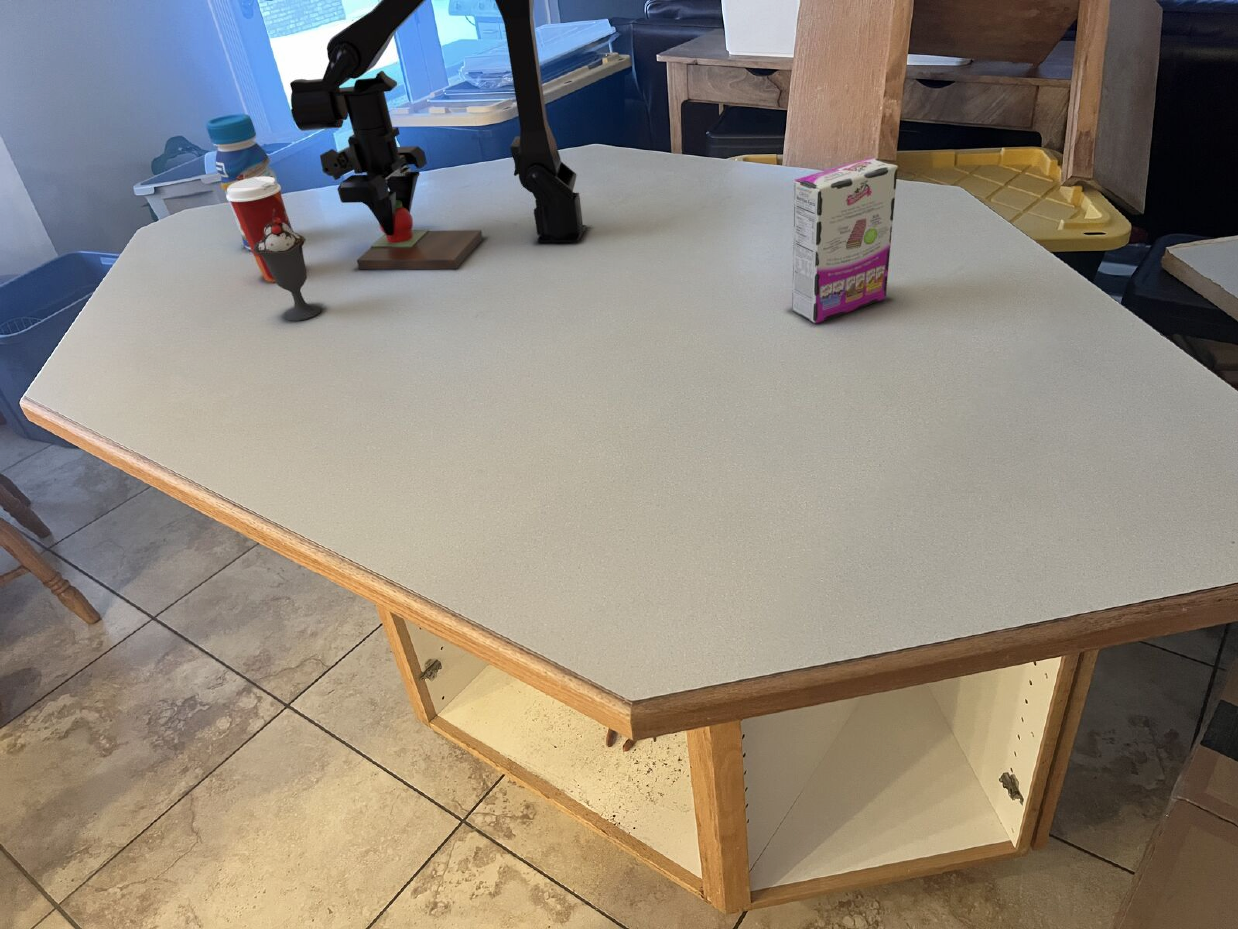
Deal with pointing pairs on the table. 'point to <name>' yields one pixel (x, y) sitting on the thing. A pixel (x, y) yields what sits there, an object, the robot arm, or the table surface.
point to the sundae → (286, 265)
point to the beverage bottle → (238, 154)
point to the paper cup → (257, 211)
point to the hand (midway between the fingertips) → (397, 228)
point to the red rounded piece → (400, 224)
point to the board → (422, 250)
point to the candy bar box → (842, 238)
